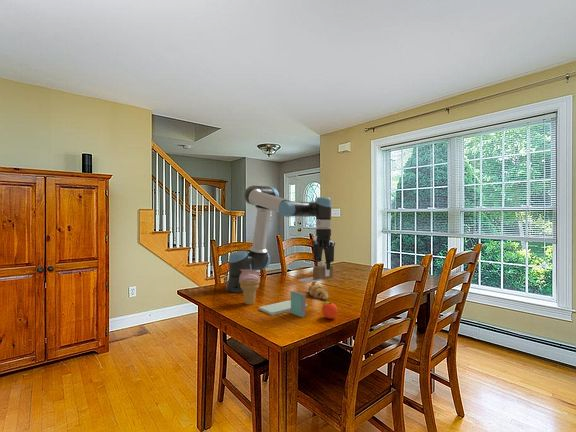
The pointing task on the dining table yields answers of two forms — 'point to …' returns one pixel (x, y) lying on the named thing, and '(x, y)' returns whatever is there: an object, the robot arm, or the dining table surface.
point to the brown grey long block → (318, 274)
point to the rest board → (278, 308)
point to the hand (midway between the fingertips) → (323, 275)
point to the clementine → (329, 310)
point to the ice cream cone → (249, 284)
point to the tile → (298, 303)
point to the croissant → (318, 292)
